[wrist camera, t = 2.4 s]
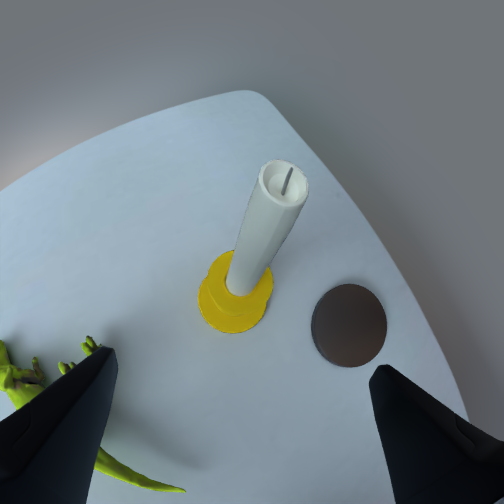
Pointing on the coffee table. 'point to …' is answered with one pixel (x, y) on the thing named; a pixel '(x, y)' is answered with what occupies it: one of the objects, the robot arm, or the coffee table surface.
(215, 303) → the candle
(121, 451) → the coffee table surface
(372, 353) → the coaster
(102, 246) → the coffee table surface
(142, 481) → the dinosaur figurine
